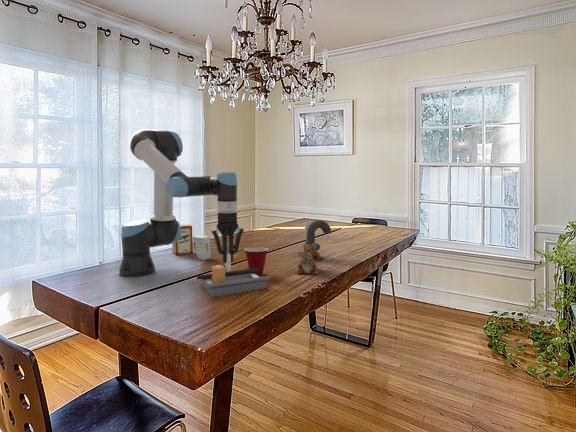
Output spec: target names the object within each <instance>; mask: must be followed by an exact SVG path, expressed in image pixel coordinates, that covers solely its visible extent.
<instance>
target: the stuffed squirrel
mask: <svg viewBox="0 0 576 432" xmlns="http://www.w3.org/2000/svg"><path fill="white" fill-rule="evenodd" d="M302 247H303V252H304V255H303V257H301V259H300V262H299V263H298V265H297V269H296V271H295V274H296V275H300V274H301V273H302V274H311V275H315V274H317V275H319V270H318V268H317V265H316V262H317V261H316V260H317V259H318V258H319V256H321V254H320V252H318V250H317V251H316V250H315V248H316V247H317V246H313V245H309V244H307V245H305V243H303V244H302ZM315 261H316V262H315Z"/></svg>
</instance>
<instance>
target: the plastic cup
mask: <svg viewBox="0 0 576 432" xmlns="http://www.w3.org/2000/svg"><path fill="white" fill-rule="evenodd" d="M243 251H244V252H245V256H246V260H247V261H246V262H247V266H248V267H247V268H248V269H254V268H259V272H253V273H255V274H256V275H258V276H259V275H260V276H263V274H264V269H265V264H266V259H267V253H268V251H269V248H267V247H246V248H244V250H243ZM260 276H259V277H260Z"/></svg>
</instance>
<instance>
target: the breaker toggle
mask: <svg viewBox="0 0 576 432" xmlns="http://www.w3.org/2000/svg"><path fill="white" fill-rule="evenodd" d="M225 272H226V270H225V266H223V265H222V264H216V265H211V274H212V280H213V281H214V282H215V283H220V282H225Z"/></svg>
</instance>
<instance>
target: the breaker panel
mask: <svg viewBox="0 0 576 432" xmlns="http://www.w3.org/2000/svg"><path fill="white" fill-rule="evenodd" d="M257 277H260V276H258V275H256V274H255V273H245V274H237V275H229V276H225V282H228V281H235V280H242V279H249V278H257ZM200 280H201V281H200V282H201V287H203V289H204V290H205V291H206V292H207V294H208V295H210V297H211V298H215V297H220V296H227V295H233V294H234V293H235V294H240V293H246V291H248V292H252V291H251V290H255V291H259V290H258V289H261V290H264V289H263V288H266V289H267V280H265V281H258V282H251V283H244V284H237V285H229V286H222V287H215V288H208V289H205V285H206V284H213V283H215V282H214V281H213V280H212V278H206V279H200Z"/></svg>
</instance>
